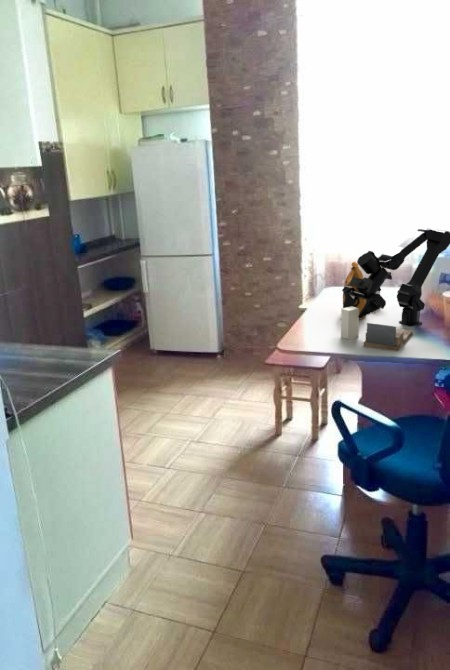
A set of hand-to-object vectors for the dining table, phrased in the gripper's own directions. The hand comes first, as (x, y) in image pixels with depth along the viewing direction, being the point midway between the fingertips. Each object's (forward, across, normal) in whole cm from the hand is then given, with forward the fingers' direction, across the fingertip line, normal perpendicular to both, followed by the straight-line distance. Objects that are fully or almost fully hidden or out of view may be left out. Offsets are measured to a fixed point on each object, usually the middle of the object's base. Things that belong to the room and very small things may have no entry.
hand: (350, 314), depth 205 cm
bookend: (+5, +16, +5) cm, 18 cm away
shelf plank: (0, +12, +12) cm, 16 cm away
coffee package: (-8, -21, +20) cm, 30 cm away
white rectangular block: (+6, 0, +6) cm, 8 cm away
